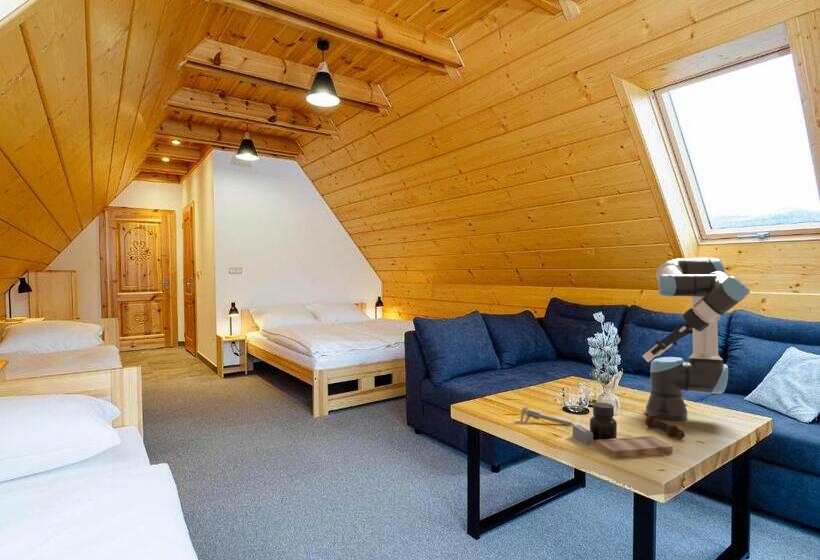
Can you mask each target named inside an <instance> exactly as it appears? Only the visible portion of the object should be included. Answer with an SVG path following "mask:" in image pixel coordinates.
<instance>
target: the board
mask: <svg viewBox="0 0 820 560" xmlns="http://www.w3.org/2000/svg"><path fill="white" fill-rule="evenodd" d="M595 447H596V448H597V449H599V450H600V451H601V452H603V453H604V454H606V455H608V456H609V457H610V458H612V459H614V460H615V459H625V458H626V459H627V458H634V457H635V458H636V457H637V458H638V457H639V458H640V457H650V456H659V455H673V453H674V452H673V450H674V449H673V446H672V445H671V444H669V443H667V442H665V441H663V440H661V439H660V438H658V437H656V436H653V435H642V436H629V437H628V436H627V437H617V438H614V439H601V440H596V441H595Z"/></svg>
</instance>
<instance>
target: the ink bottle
mask: <svg viewBox="0 0 820 560" xmlns="http://www.w3.org/2000/svg"><path fill="white" fill-rule="evenodd" d="M614 412H615V411H614V405H613V404H611V403H607V402H593V404H592V416H591V417H590V418H589V431H590V432H592V433H593V441H595V442H596V440H601V439H614V438H618V437H617V436H618V435H617V434H618V432H617V431H618V430H617V428H618V423H617V421H616V419H615V418H614V415H615V413H614Z"/></svg>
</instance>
